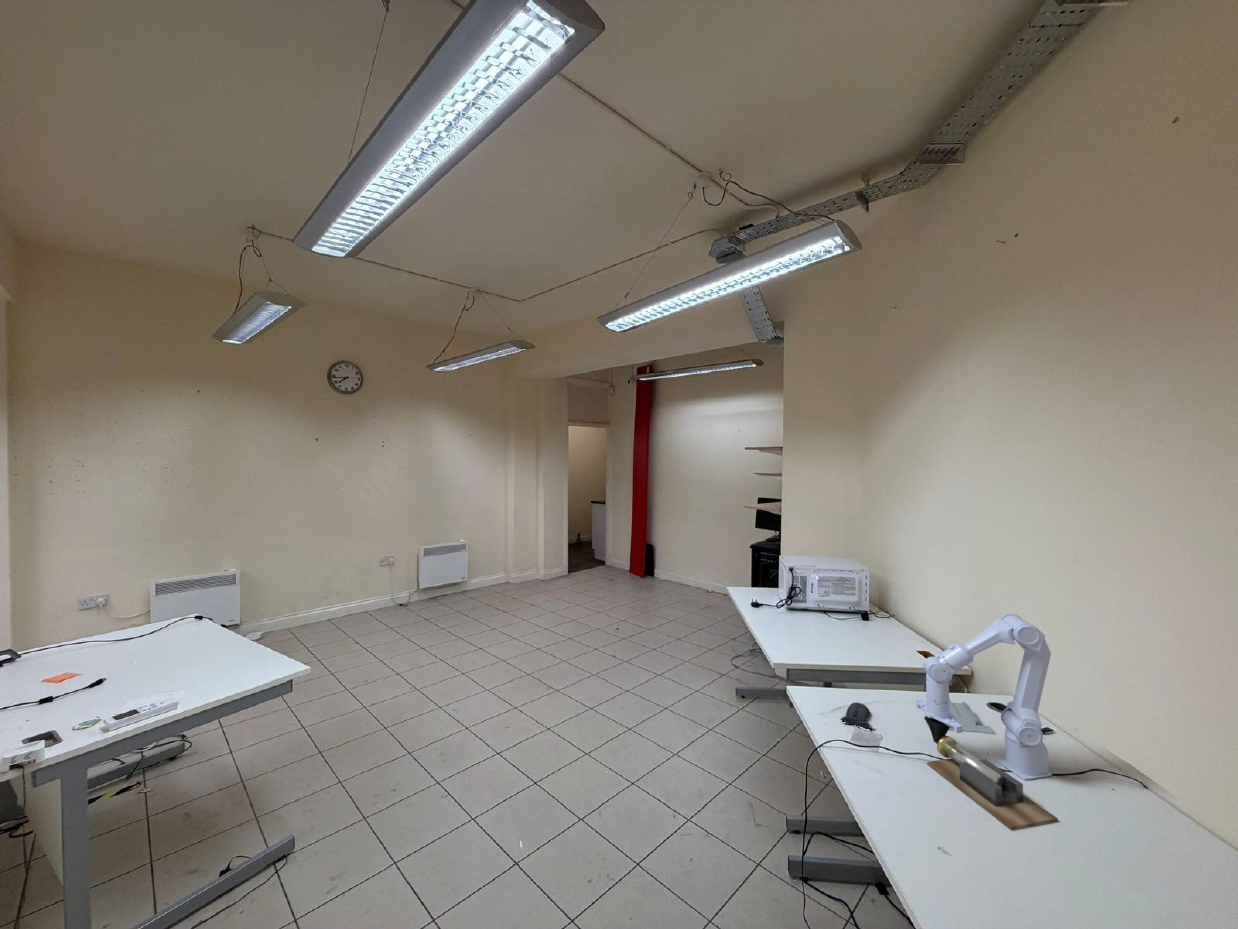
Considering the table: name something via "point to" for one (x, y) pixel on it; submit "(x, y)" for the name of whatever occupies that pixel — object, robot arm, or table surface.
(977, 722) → the metal bracket
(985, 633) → the robot arm
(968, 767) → the bearing block
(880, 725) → the table surface
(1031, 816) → the base board
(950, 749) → the shaft
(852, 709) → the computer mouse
